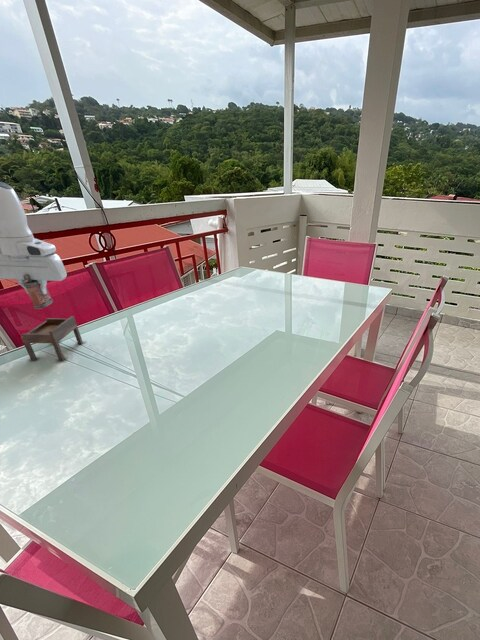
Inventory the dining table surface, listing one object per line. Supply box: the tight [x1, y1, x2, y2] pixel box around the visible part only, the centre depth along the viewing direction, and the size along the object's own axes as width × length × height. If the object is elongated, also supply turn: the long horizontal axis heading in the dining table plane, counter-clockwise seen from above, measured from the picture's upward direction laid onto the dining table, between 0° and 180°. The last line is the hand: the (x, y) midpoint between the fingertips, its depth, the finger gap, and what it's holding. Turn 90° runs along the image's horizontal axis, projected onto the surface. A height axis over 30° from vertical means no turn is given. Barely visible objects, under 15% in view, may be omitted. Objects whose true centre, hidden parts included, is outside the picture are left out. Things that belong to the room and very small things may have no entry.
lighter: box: [23, 275, 54, 310], centre depth 103 cm, size 8×3×10 cm, turn 7°
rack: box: [20, 315, 84, 362], centre depth 112 cm, size 10×14×10 cm
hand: (37, 293), depth 104 cm, fingers closed on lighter, 2 cm apart
